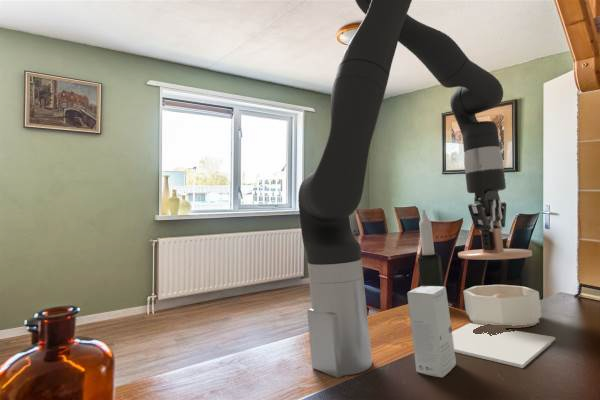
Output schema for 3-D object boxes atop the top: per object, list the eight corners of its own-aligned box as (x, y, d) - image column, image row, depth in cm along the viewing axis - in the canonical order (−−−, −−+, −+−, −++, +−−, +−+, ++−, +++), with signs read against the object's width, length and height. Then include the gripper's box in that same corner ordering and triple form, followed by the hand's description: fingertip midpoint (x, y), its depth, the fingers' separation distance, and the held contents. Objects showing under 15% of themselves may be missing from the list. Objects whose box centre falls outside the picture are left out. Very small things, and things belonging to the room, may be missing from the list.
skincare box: (444, 379, 50) (434, 293, 51) (414, 372, 53) (405, 292, 54) (457, 363, 55) (448, 285, 56) (429, 358, 58) (421, 284, 59)
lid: (516, 260, 66) (513, 229, 66) (446, 258, 77) (443, 232, 77) (542, 252, 75) (539, 225, 75) (475, 251, 85) (473, 228, 86)
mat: (522, 368, 52) (522, 364, 52) (430, 346, 63) (429, 343, 63) (555, 340, 61) (555, 337, 61) (469, 325, 73) (469, 323, 73)
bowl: (525, 333, 65) (521, 300, 66) (458, 321, 76) (454, 293, 76) (548, 316, 74) (544, 288, 74) (485, 308, 84) (481, 283, 84)
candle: (443, 310, 86) (431, 208, 87) (422, 309, 88) (411, 210, 90) (446, 305, 90) (435, 208, 92) (426, 304, 93) (415, 210, 94)
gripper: (487, 165, 70) (497, 252, 68) (515, 168, 78) (524, 246, 77) (451, 171, 75) (460, 252, 74) (480, 174, 84) (489, 246, 83)
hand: (492, 248), depth 76 cm, fingers closed on lid, 3 cm apart
